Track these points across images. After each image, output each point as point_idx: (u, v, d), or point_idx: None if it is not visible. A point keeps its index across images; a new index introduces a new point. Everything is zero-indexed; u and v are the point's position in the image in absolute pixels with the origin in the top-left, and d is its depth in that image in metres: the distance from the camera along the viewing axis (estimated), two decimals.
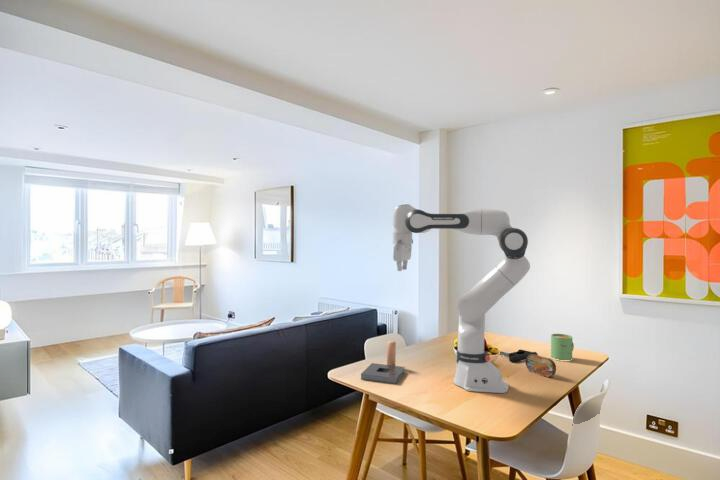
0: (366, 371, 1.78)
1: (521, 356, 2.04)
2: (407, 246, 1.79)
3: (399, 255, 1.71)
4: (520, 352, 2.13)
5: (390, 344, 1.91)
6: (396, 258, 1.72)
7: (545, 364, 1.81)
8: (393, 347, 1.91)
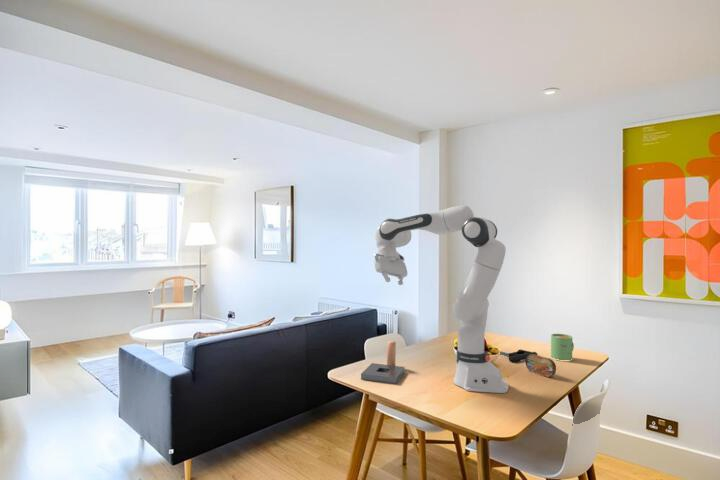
0: (366, 371, 1.78)
1: (521, 356, 2.04)
2: (391, 259, 1.89)
3: (379, 264, 1.82)
4: (520, 352, 2.13)
5: (390, 344, 1.91)
6: (377, 268, 1.82)
7: (545, 364, 1.81)
8: (393, 347, 1.91)
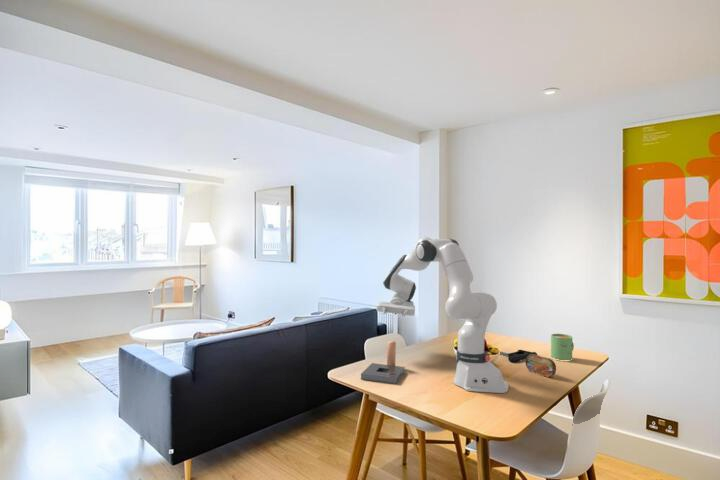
0: (366, 371, 1.78)
1: (520, 356, 2.04)
2: (394, 301, 2.12)
3: (377, 304, 2.11)
4: (520, 352, 2.13)
5: (390, 344, 1.91)
6: None
7: (545, 364, 1.81)
8: (393, 347, 1.91)
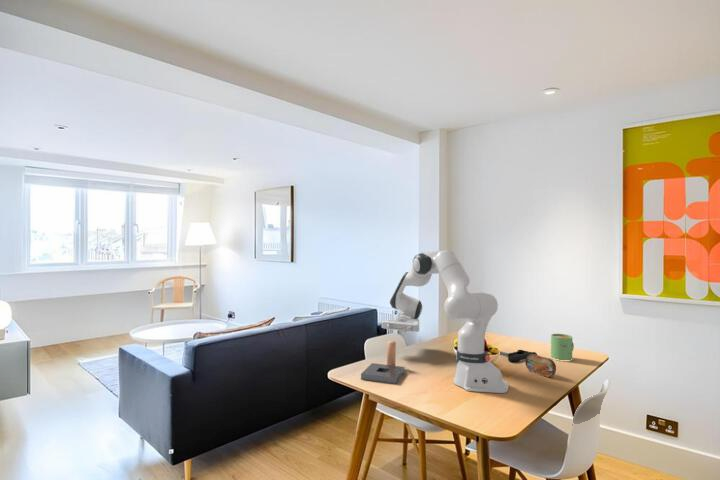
0: (366, 371, 1.78)
1: (520, 356, 2.04)
2: (399, 319, 2.15)
3: None
4: (519, 352, 2.13)
5: (390, 344, 1.91)
6: None
7: (545, 364, 1.81)
8: (393, 347, 1.91)
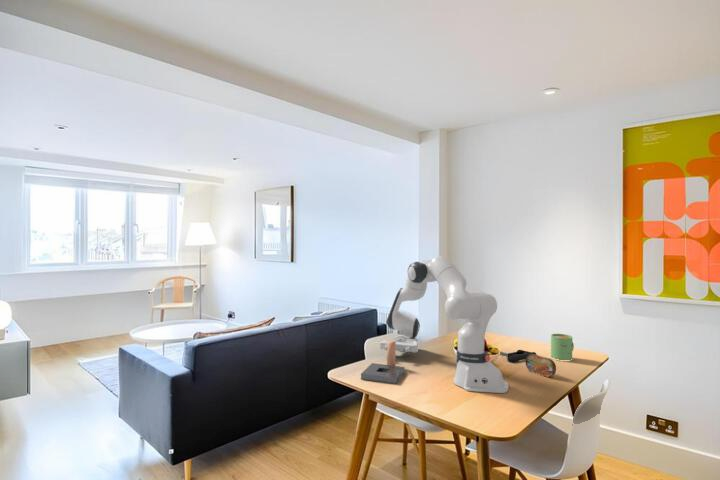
0: (366, 371, 1.78)
1: (519, 356, 2.04)
2: (397, 339, 2.11)
3: None
4: (519, 352, 2.13)
5: (390, 344, 1.91)
6: None
7: (545, 364, 1.81)
8: (393, 347, 1.91)
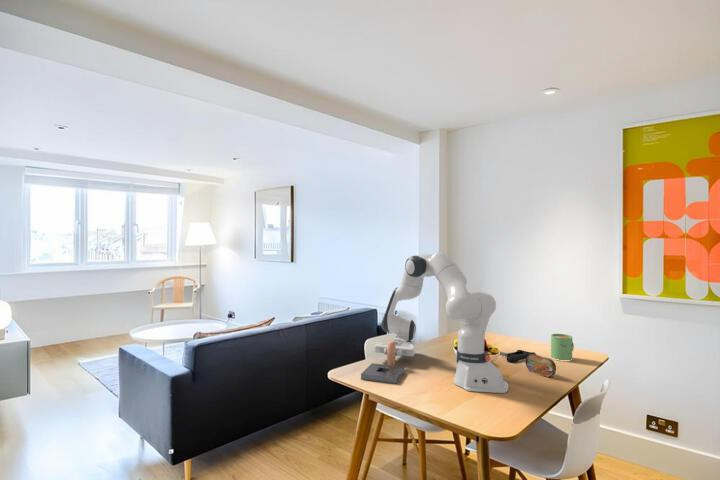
0: (366, 371, 1.78)
1: (519, 356, 2.04)
2: None
3: None
4: (519, 352, 2.13)
5: (390, 344, 1.91)
6: None
7: (545, 364, 1.81)
8: (393, 347, 1.91)
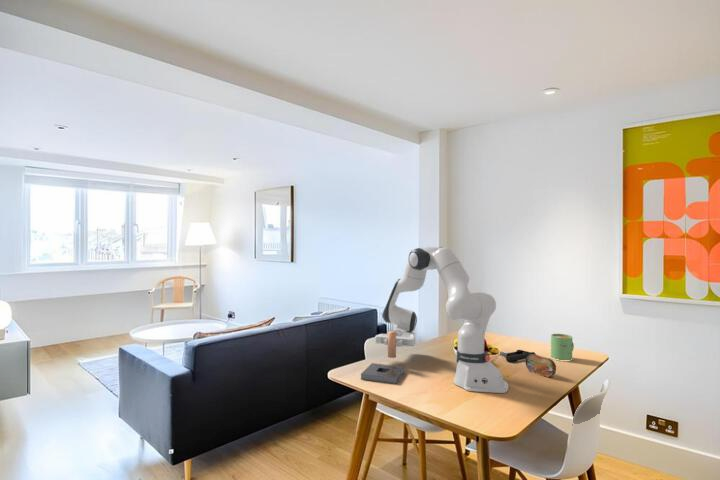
0: (366, 371, 1.78)
1: (518, 356, 2.04)
2: None
3: None
4: (518, 352, 2.13)
5: (390, 334, 1.91)
6: None
7: (545, 364, 1.81)
8: (393, 337, 1.91)
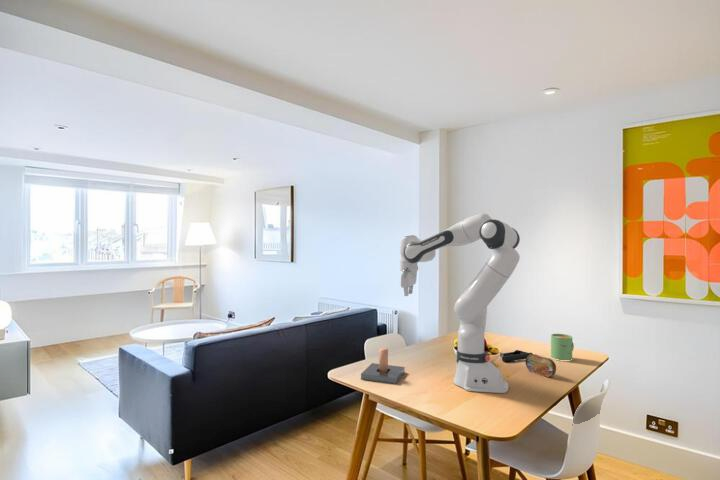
0: (366, 371, 1.78)
1: (515, 356, 2.04)
2: (413, 273, 1.98)
3: (406, 282, 1.91)
4: (516, 352, 2.13)
5: (382, 352, 1.78)
6: (403, 285, 1.91)
7: (545, 364, 1.81)
8: (385, 355, 1.78)
